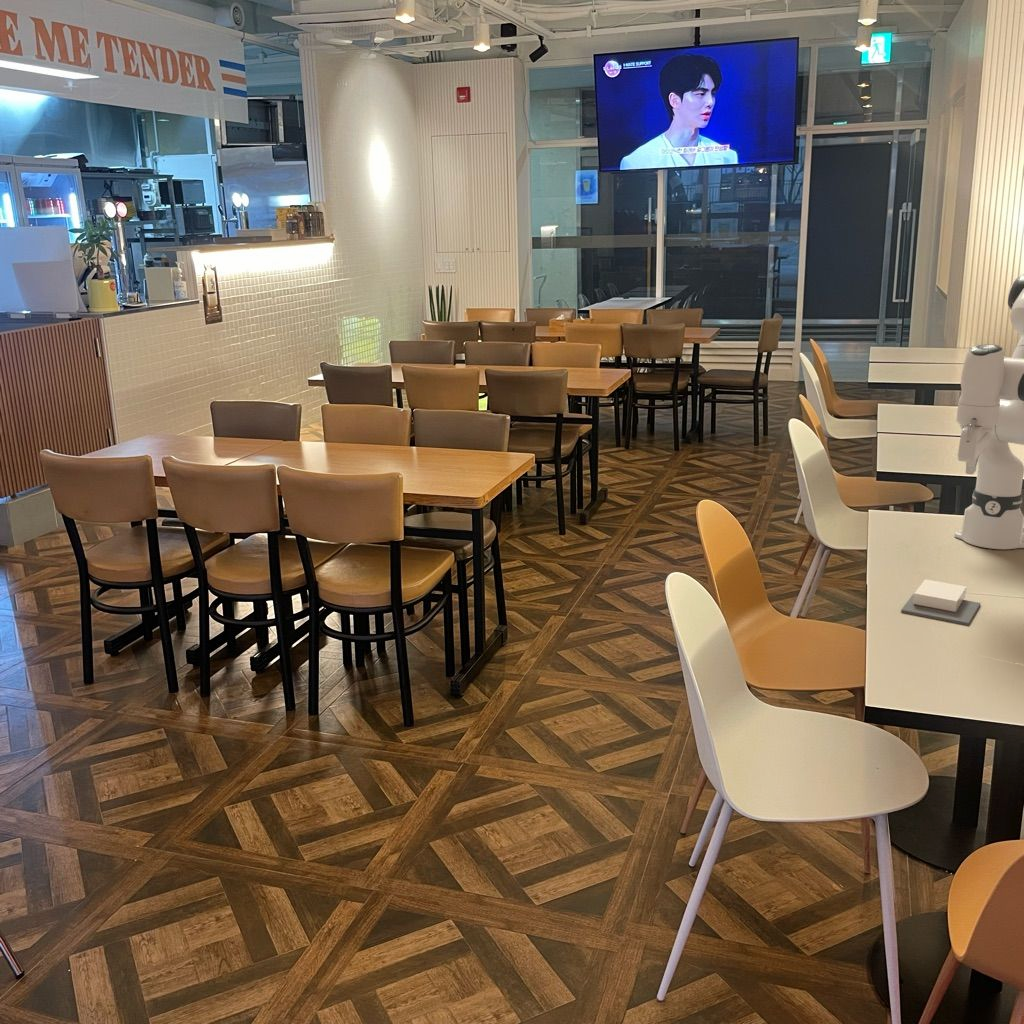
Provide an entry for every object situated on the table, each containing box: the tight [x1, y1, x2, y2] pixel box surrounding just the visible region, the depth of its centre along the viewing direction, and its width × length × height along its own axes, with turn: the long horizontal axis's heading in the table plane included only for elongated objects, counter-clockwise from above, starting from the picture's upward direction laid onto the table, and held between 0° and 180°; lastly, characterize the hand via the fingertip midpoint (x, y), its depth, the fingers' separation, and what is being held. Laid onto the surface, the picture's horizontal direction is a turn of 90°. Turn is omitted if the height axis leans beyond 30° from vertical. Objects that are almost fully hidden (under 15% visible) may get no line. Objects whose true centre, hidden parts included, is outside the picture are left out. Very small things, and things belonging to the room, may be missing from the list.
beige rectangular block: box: [913, 578, 967, 612], centre depth 225 cm, size 3×9×11 cm
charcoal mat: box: [900, 590, 981, 626], centre depth 223 cm, size 14×14×1 cm
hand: (970, 473), depth 235 cm, fingers closed
